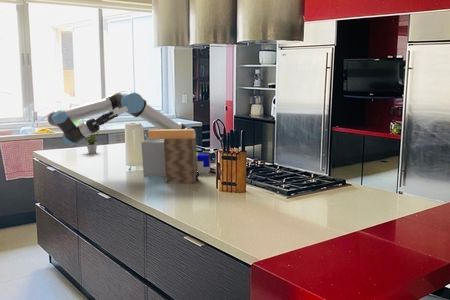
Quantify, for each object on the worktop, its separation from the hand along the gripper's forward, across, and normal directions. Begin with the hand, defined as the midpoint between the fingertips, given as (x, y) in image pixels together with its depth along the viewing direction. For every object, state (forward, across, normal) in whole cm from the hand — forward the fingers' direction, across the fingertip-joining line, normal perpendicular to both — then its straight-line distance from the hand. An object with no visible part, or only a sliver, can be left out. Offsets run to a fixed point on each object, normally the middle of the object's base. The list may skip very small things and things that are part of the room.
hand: (123, 108), depth 253 cm
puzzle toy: (+16, -21, -51) cm, 58 cm away
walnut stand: (+10, +2, -49) cm, 50 cm away
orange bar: (+16, +4, -26) cm, 31 cm away
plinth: (-4, -13, -41) cm, 43 cm away
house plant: (-59, -79, -9) cm, 99 cm away
